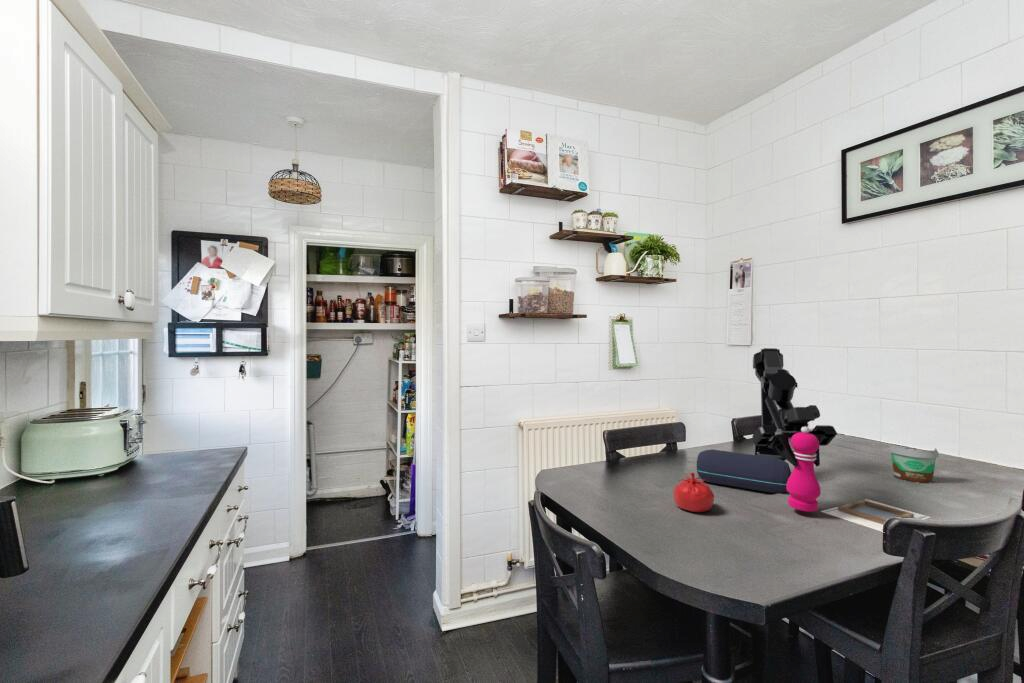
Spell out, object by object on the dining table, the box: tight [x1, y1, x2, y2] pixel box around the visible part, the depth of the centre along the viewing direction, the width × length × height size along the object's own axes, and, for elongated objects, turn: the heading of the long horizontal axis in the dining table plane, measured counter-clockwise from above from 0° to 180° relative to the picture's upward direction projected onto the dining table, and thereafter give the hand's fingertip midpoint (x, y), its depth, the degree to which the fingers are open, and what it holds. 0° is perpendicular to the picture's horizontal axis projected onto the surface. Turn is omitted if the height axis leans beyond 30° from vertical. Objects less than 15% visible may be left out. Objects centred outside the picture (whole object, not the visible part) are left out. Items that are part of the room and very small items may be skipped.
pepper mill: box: [786, 426, 822, 512], centre depth 117 cm, size 7×7×20 cm
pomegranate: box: [672, 471, 715, 513], centre depth 123 cm, size 10×10×9 cm
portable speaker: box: [696, 448, 792, 495], centre depth 141 cm, size 25×10×10 cm, turn 55°
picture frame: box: [820, 498, 932, 533], centre depth 117 cm, size 20×14×1 cm
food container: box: [888, 444, 940, 484], centre depth 146 cm, size 12×6×10 cm, turn 68°
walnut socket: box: [837, 499, 914, 525], centre depth 117 cm, size 11×11×1 cm
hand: (807, 465), depth 116 cm, fingers closed on pepper mill, 5 cm apart
